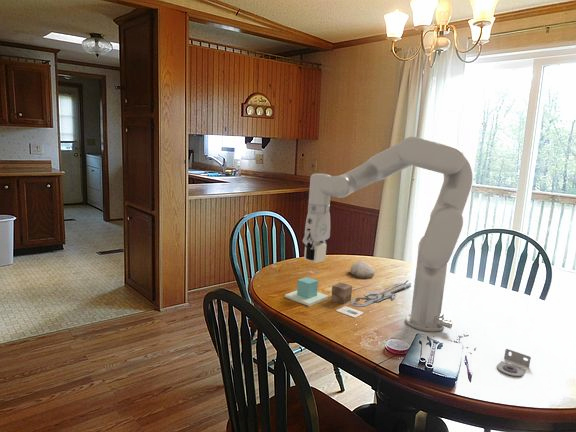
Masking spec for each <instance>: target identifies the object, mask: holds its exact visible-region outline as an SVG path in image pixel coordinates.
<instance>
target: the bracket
mask: <svg viewBox="0 0 576 432" xmlns="http://www.w3.org/2000/svg"><path fill="white" fill-rule="evenodd" d="M509 354H511V355H509ZM503 359H505V360H507V361H511V362H513V363H516V364H518V365H522V366H524V367H528V368H529V367H530V364H531V359H532V358H531V356H530V355H527V354H524V353H520V352H517V351H514V350H512V349H509V348H505V350H504V357H503ZM525 359H527V360H525ZM496 368H497V370H498V371H500V372H502V373H504V374H505V375H509V376H513V377H523V375H525V374H526V372H527V370H528V369H525V368H522V367H521V366H517V365H515V364H511V363H510V362H509V363H508V362H505V361H503V360H501V361H500V362H499V363H498V364H497V365H496Z"/></svg>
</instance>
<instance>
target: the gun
mask: <svg viewBox="0 0 576 432" xmlns="http://www.w3.org/2000/svg"><path fill="white" fill-rule="evenodd" d="M408 282H409V280H406V281H405V282H398V283H396V284H394V285H392V286H389V287H387V288H385V289H382V290H375V291H371V292H368V293H366V294H364V297H356V298H355V299H351V301H349V302H350V305H352V306H354V307H362V308H363V307H365V308H366V307H367V306H370V305H372V304H375V303H381V302H382V301H384V300H387V299H391V301H393V300H395V298H396V295H397V292H400V291H402V290H406V289H407V288H410V287H411V286H412V283H411V282H409V283H408ZM360 300H364V302H365V303H360V304H359V303H358V302H360Z"/></svg>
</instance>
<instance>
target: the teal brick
mask: <svg viewBox="0 0 576 432" xmlns="http://www.w3.org/2000/svg"><path fill="white" fill-rule="evenodd" d="M318 285H319V280H318V279H314V278H311V277H308V276H306V277H303V278H299V279H297V289H296V290H297V295H299V296H301V297H304V298H307V299H309V298H312V297H315V296H317V292H318V290H319V289H318V287H319V286H318Z"/></svg>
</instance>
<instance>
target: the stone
mask: <svg viewBox="0 0 576 432" xmlns="http://www.w3.org/2000/svg"><path fill="white" fill-rule="evenodd" d="M349 271H350V273H351V275H352V276H354V277H356V278H359V279H369V278H370V279H371V278H373V277H374V275H375V273H376V272H375V268H374V267H373V266H372V265H371V264H370V263H369V262H367V261H365V260H363V259H362V260H358V261H356V262H354V263H353V264H352V265H351V267H350V270H349Z"/></svg>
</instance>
